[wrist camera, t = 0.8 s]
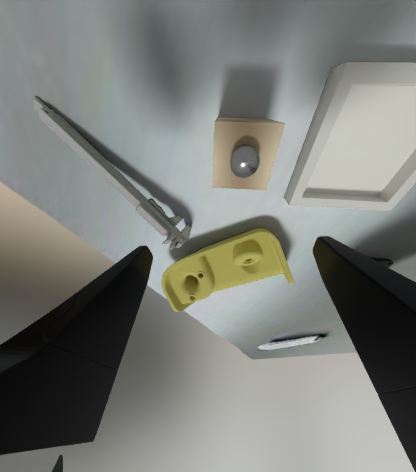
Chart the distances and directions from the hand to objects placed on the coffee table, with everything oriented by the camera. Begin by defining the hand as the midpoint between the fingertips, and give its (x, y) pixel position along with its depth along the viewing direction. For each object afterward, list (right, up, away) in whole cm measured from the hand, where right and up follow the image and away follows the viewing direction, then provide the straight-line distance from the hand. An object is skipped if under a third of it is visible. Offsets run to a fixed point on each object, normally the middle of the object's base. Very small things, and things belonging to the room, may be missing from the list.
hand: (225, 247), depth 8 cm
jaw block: (+2, +10, +8) cm, 13 cm away
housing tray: (+14, +9, +7) cm, 18 cm away
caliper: (-11, +8, +11) cm, 18 cm away
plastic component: (+2, -3, +20) cm, 20 cm away
